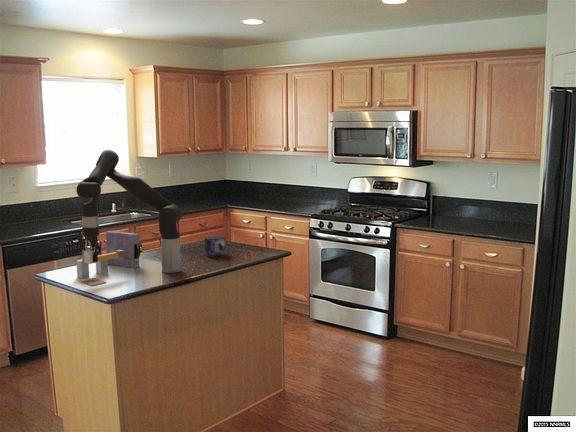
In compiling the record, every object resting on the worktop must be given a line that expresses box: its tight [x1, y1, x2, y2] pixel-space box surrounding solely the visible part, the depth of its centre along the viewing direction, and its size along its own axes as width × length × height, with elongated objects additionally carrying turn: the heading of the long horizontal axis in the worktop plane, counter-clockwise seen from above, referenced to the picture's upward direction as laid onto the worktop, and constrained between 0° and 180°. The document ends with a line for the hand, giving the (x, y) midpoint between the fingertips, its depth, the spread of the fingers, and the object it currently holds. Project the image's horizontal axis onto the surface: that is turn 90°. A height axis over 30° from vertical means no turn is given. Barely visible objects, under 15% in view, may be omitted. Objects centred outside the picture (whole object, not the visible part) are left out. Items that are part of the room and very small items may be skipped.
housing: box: [76, 247, 109, 280], centre depth 288 cm, size 4×14×15 cm, turn 139°
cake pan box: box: [105, 230, 142, 269], centre depth 307 cm, size 19×5×18 cm, turn 68°
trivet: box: [80, 277, 107, 287], centre depth 277 cm, size 10×7×1 cm
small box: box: [204, 235, 226, 258], centre depth 330 cm, size 11×6×10 cm, turn 114°
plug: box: [84, 249, 124, 265], centre depth 280 cm, size 19×4×6 cm, turn 139°
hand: (92, 260), depth 276 cm, fingers closed on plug, 4 cm apart
